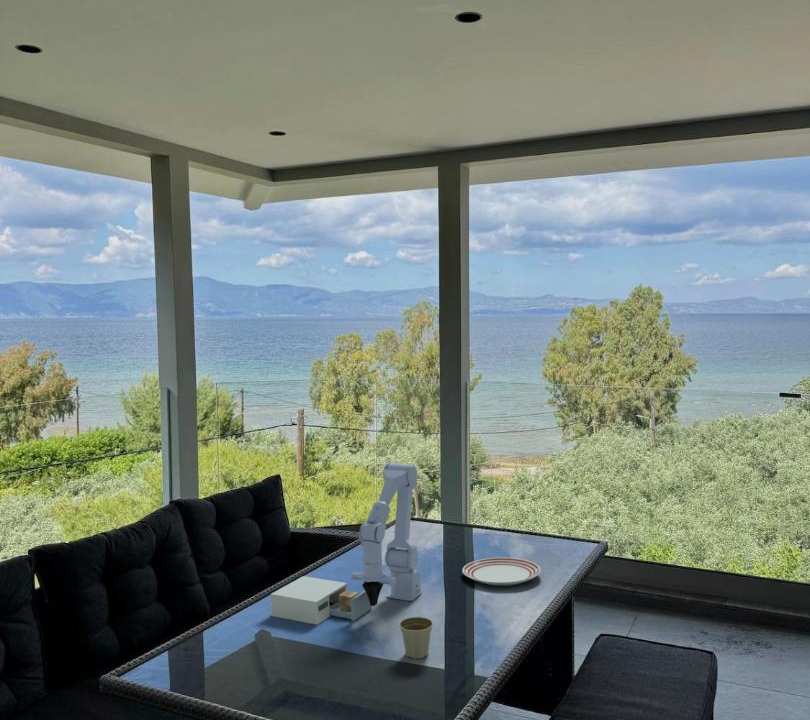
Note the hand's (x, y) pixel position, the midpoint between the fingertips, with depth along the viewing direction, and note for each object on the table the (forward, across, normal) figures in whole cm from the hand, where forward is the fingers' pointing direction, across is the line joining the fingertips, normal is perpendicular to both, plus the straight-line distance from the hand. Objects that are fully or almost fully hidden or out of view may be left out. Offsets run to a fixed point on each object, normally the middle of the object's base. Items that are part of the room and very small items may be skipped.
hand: (373, 604), depth 238 cm
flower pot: (+4, +23, -18) cm, 30 cm away
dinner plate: (+4, +24, +50) cm, 55 cm away
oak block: (+3, -9, +1) cm, 10 cm away
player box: (+4, -21, -3) cm, 22 cm away
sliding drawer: (+4, -10, 0) cm, 11 cm away
